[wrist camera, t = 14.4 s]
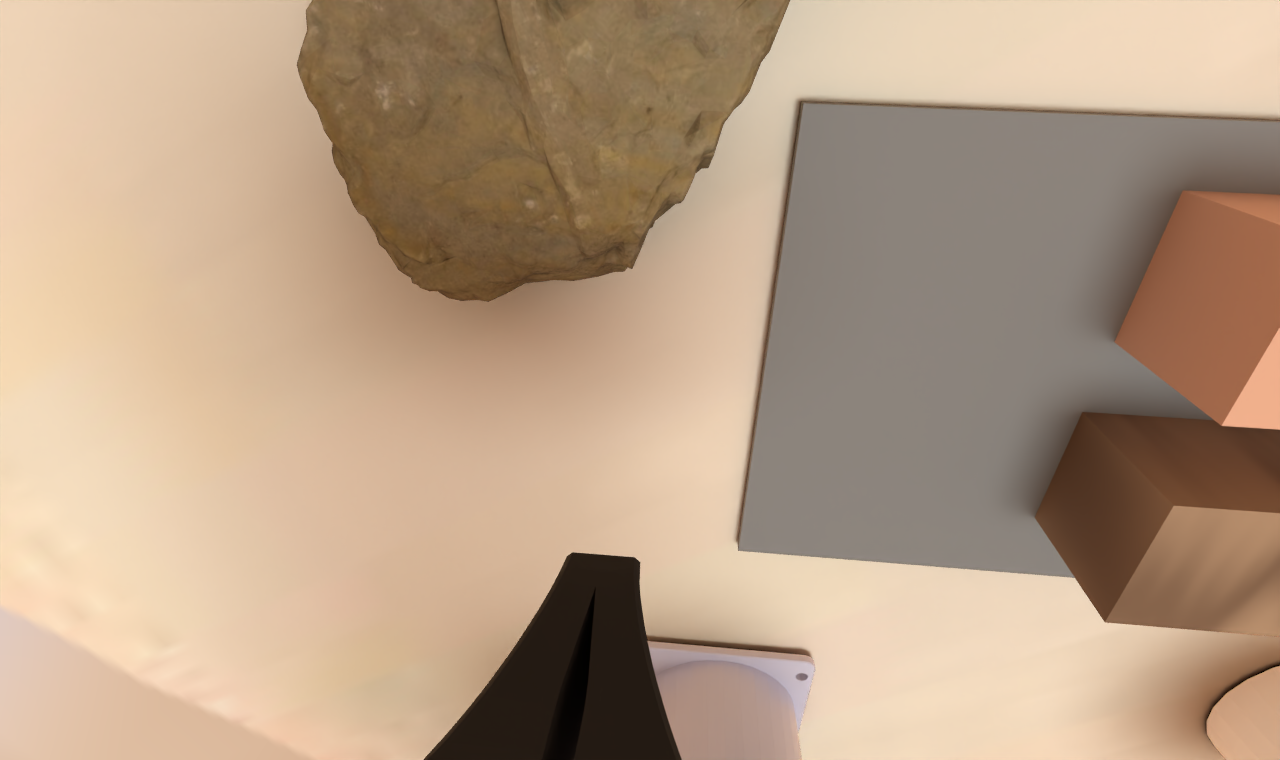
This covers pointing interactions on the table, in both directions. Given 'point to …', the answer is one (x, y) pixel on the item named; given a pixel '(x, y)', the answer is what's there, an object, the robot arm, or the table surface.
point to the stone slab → (525, 125)
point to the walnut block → (1170, 521)
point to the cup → (1248, 719)
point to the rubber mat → (962, 319)
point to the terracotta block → (1214, 307)
